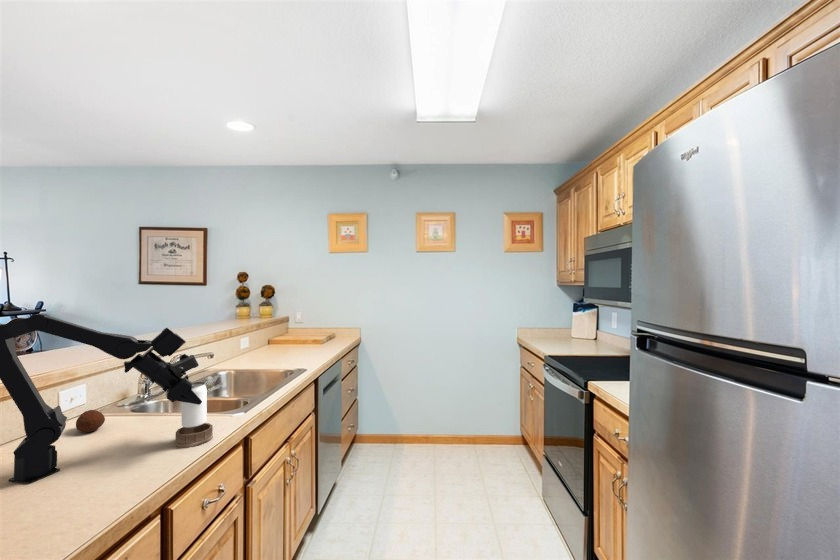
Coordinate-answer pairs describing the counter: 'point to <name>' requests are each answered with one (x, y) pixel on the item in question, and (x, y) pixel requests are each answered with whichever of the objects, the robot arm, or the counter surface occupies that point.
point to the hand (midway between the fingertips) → (199, 400)
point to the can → (195, 408)
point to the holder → (194, 435)
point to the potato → (90, 421)
